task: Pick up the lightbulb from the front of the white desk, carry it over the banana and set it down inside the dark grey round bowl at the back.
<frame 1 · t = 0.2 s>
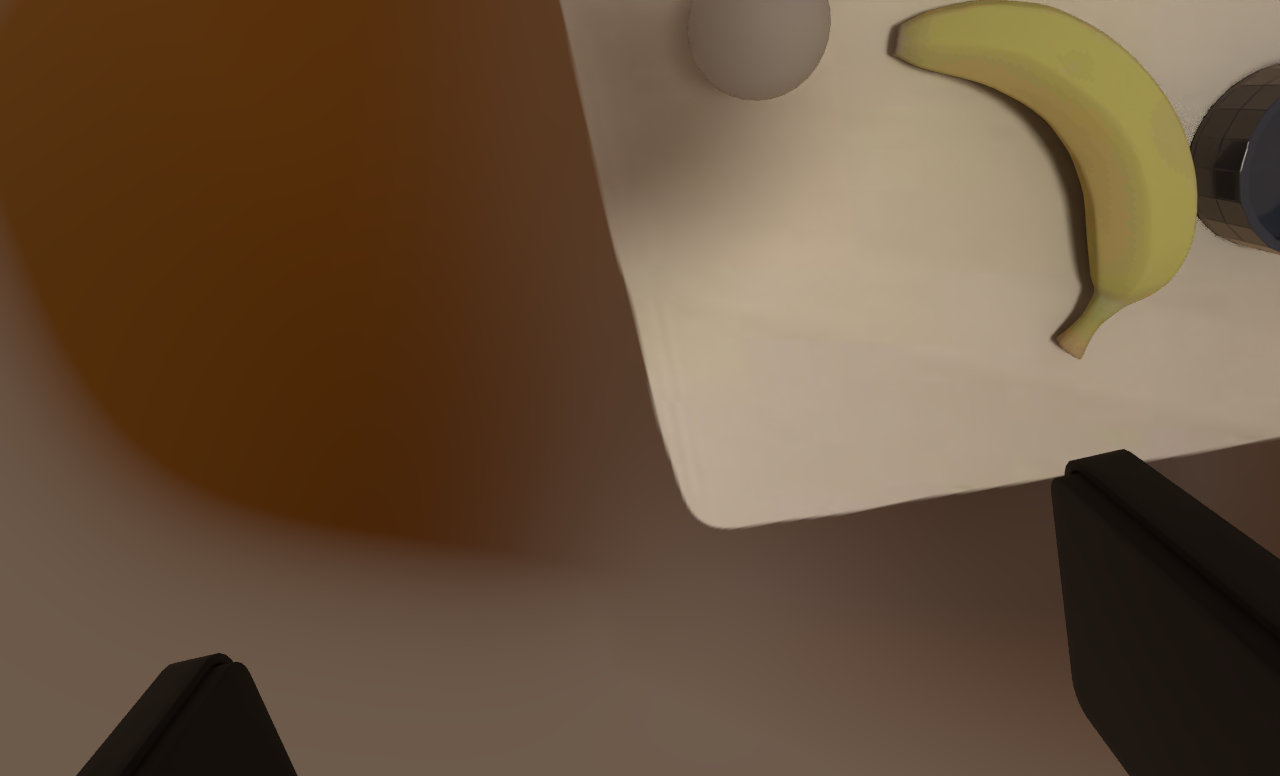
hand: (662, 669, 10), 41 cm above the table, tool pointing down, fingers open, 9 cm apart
dark grey round bowl: (1276, 157, 48), on the table
banana: (1030, 185, 48), on the table
lightbulb: (737, 37, 46), on the table
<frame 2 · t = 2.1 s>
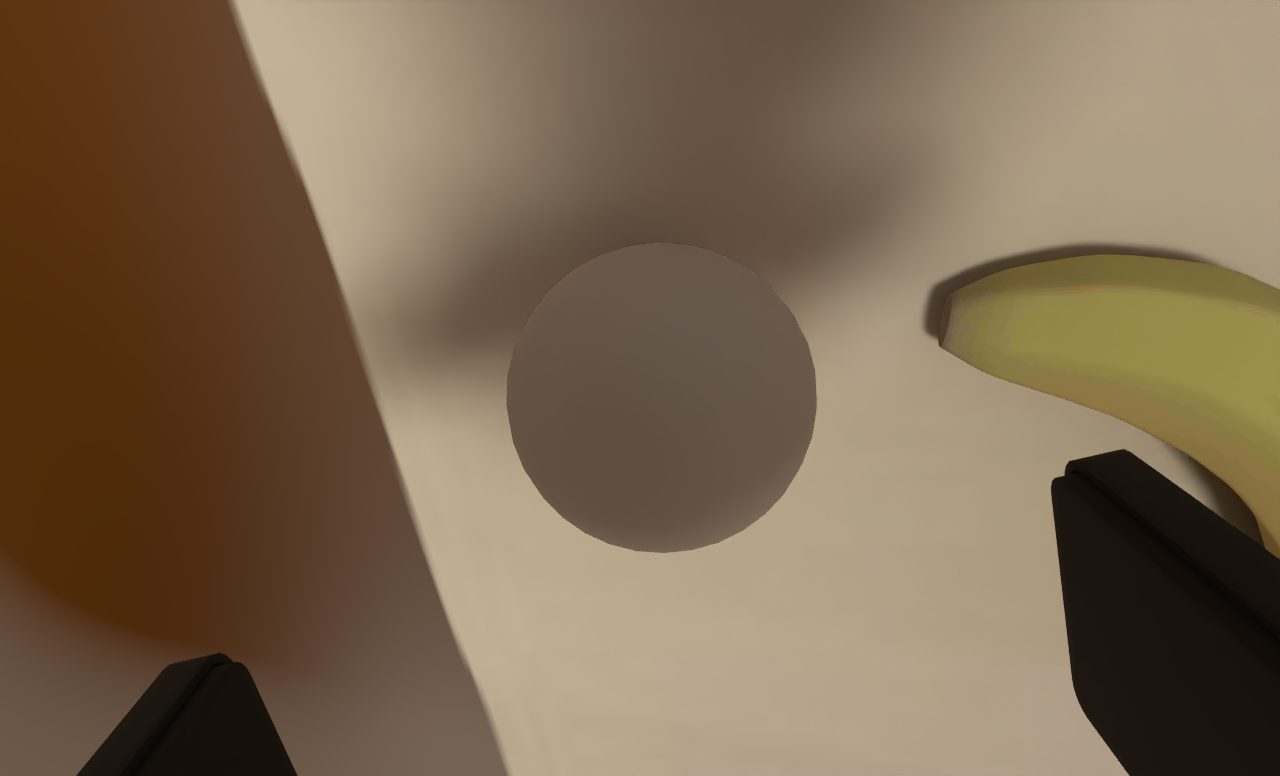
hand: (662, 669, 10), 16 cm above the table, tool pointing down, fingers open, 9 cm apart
banana: (1170, 535, 28), on the table
lightbulb: (654, 301, 25), on the table
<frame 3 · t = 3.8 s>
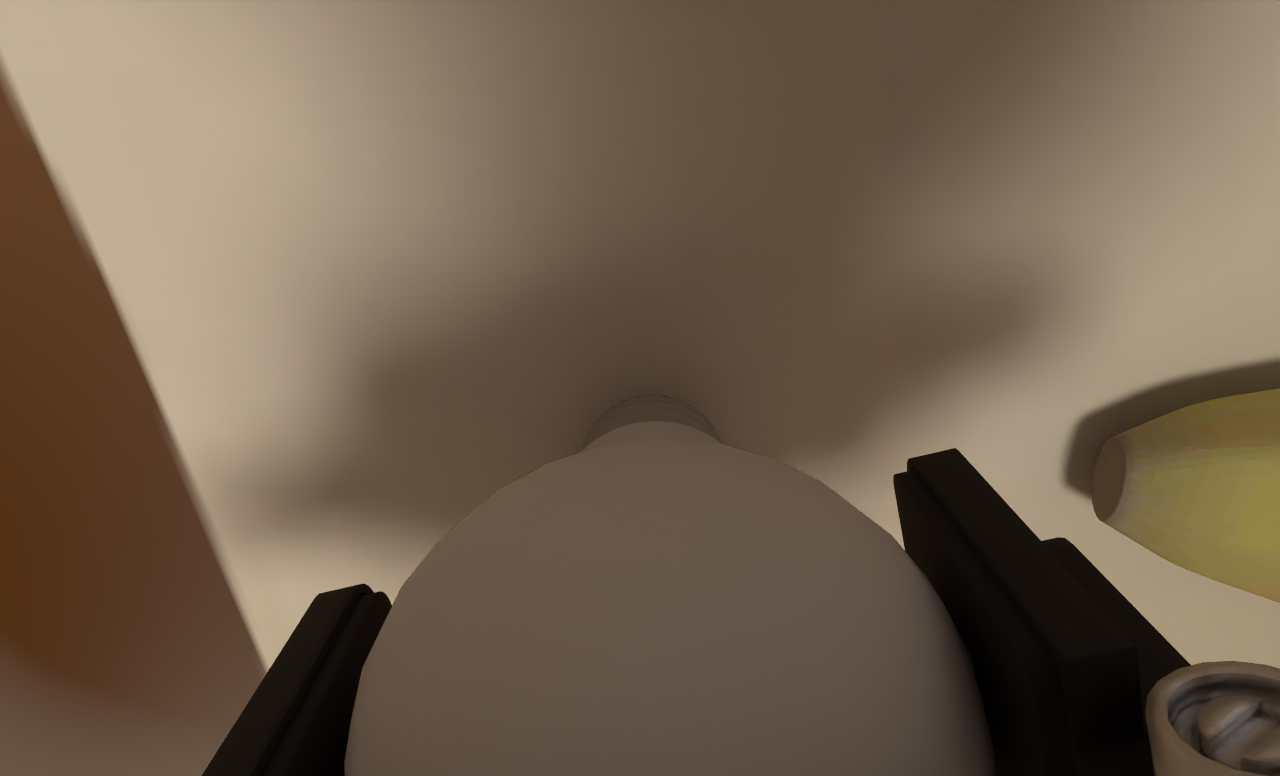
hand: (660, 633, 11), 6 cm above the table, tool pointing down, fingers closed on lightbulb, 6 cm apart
lightbulb: (651, 440, 16), on the table, touching gripper
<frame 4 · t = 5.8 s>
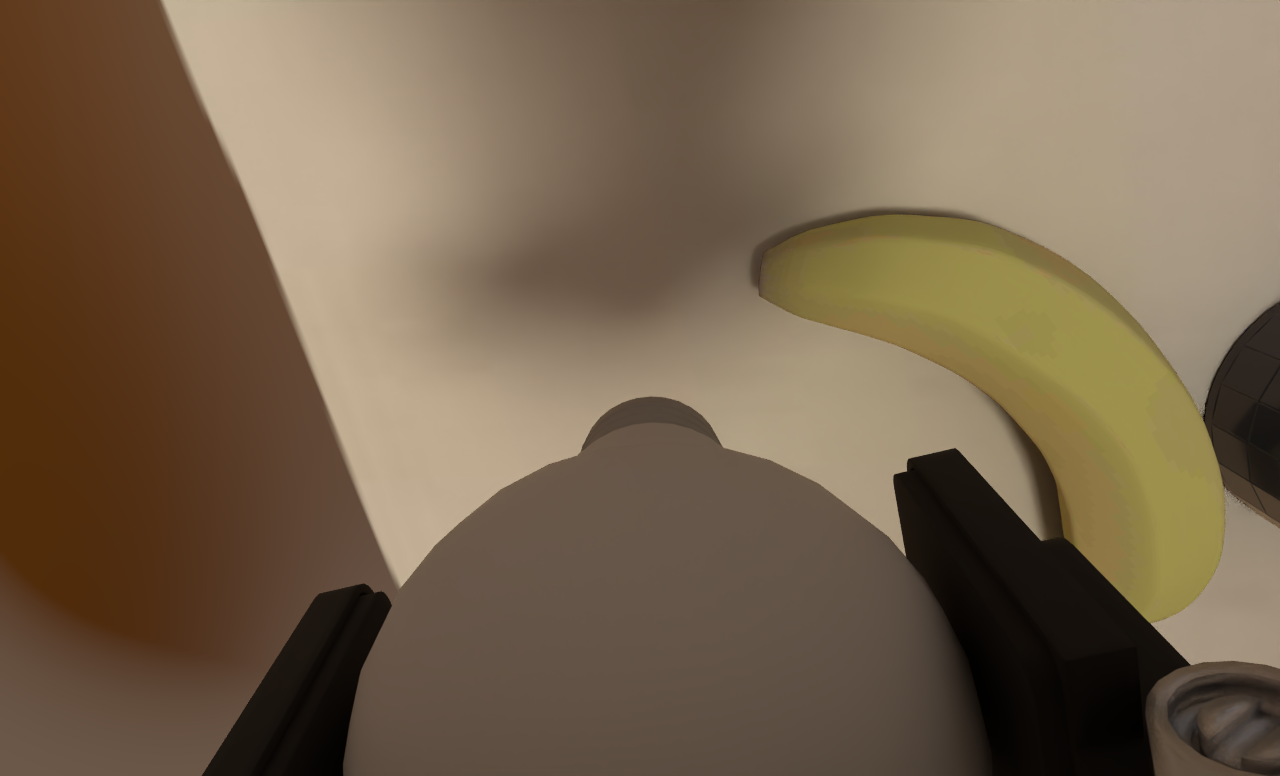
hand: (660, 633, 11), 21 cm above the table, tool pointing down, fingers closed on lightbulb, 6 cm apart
banana: (977, 451, 33), on the table
lightbulb: (650, 441, 16), point 15 cm above the table, touching gripper
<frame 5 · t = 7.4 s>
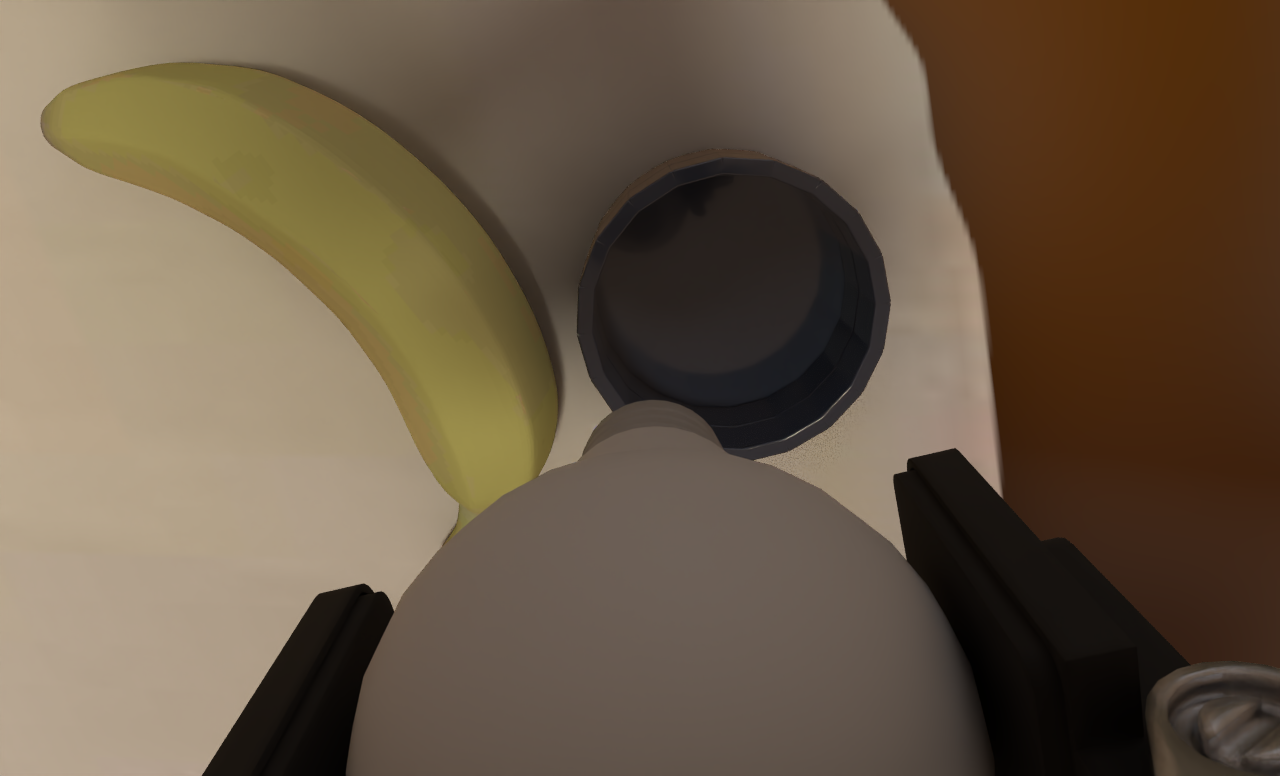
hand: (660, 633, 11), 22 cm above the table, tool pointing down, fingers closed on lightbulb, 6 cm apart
dark grey round bowl: (719, 287, 31), on the table
banana: (359, 332, 32), on the table
lightbulb: (652, 444, 16), point 15 cm above the table, touching gripper
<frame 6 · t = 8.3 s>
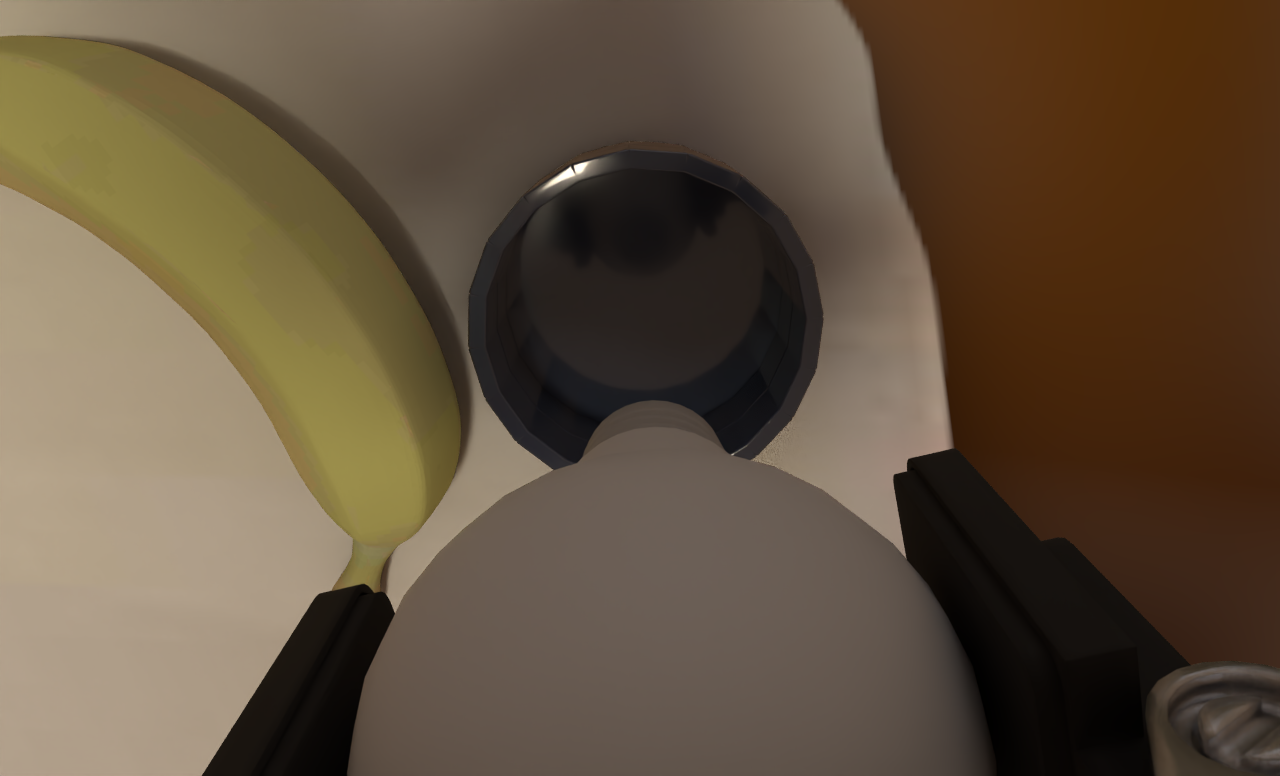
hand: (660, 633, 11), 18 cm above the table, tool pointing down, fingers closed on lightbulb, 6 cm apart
dark grey round bowl: (643, 296, 28), on the table
banana: (244, 341, 29), on the table
lightbulb: (652, 445, 16), point 12 cm above the table, touching gripper
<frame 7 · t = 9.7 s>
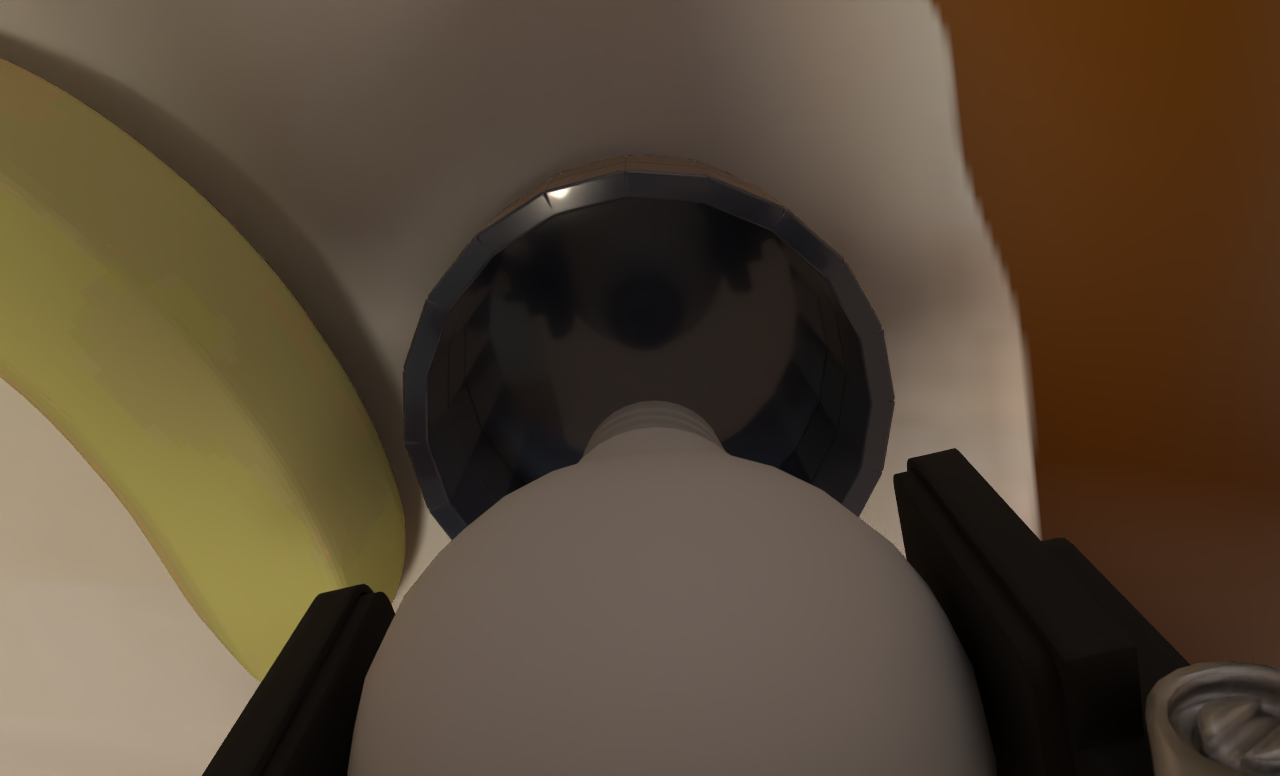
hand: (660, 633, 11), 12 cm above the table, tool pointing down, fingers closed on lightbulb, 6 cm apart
dark grey round bowl: (644, 357, 22), on the table
banana: (126, 413, 22), on the table
lightbulb: (652, 445, 16), point 5 cm above the table, touching gripper
when the fingers open (7 cm above the table, at t = 11.5 s): lightbulb stays where it is, resting on dark grey round bowl.
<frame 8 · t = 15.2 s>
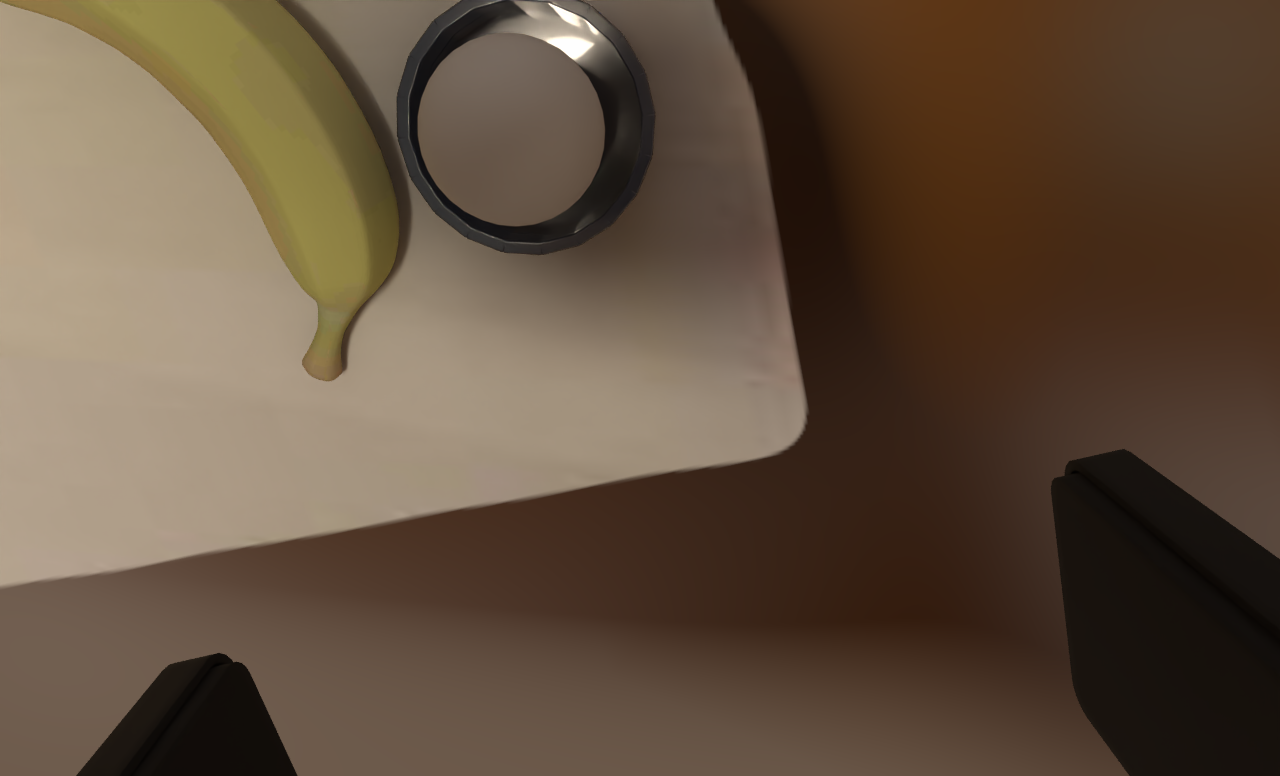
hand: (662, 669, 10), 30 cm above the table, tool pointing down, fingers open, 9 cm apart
dark grey round bowl: (538, 122, 37), on the table
banana: (235, 159, 38), on the table
lightbulb: (538, 124, 37), resting on dark grey round bowl
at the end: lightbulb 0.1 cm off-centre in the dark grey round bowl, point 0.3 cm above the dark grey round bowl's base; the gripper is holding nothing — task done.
